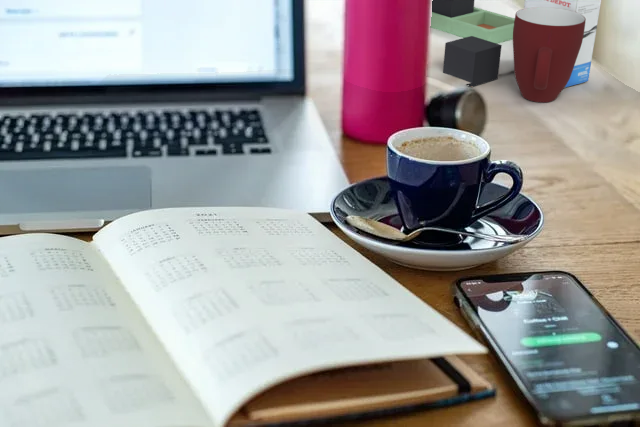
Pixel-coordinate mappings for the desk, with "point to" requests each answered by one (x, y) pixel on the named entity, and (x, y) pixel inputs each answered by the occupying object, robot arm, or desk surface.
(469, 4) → the black block
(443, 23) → the holder
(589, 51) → the ink box
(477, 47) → the dark grey block
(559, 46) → the mug
